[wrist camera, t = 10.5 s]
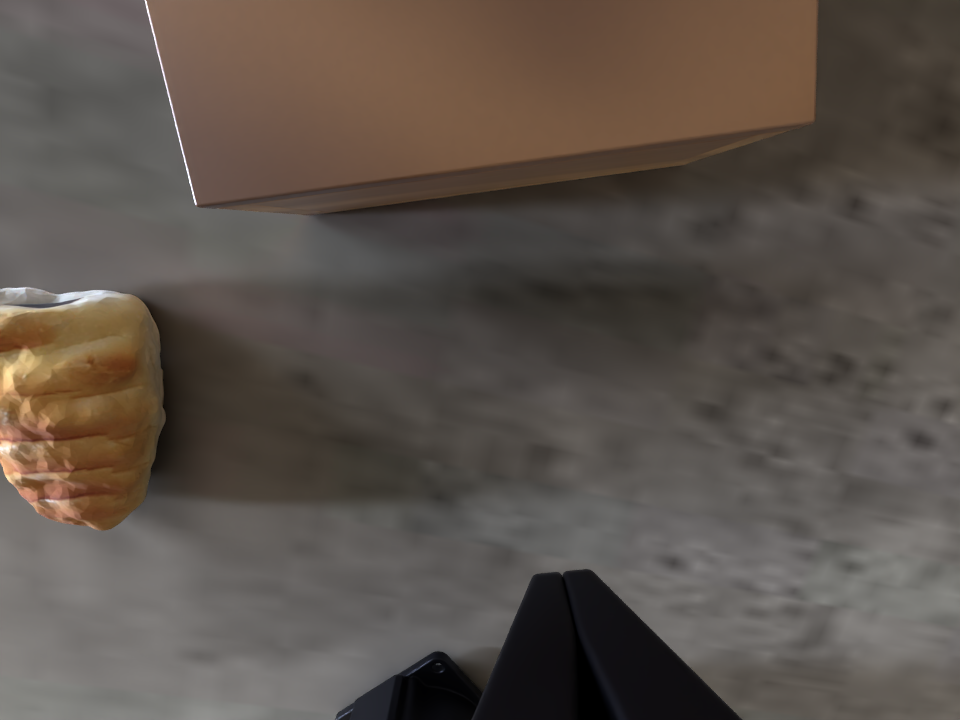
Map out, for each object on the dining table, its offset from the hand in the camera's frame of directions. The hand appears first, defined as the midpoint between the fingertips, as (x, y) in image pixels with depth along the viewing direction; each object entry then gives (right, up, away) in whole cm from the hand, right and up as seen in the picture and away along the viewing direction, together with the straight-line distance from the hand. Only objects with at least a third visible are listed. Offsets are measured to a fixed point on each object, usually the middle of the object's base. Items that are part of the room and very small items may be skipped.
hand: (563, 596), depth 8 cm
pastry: (-16, +3, +13) cm, 21 cm away
